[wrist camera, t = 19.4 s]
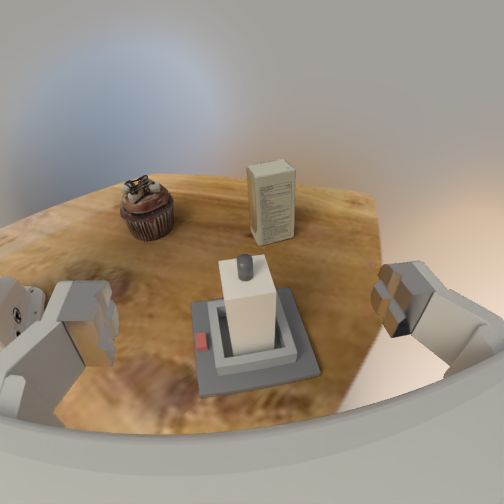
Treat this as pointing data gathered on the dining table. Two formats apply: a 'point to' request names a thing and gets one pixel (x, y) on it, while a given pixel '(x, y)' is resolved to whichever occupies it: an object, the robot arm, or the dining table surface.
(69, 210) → the dining table surface
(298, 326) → the socket plate
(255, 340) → the plug
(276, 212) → the skincare box
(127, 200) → the cupcake
